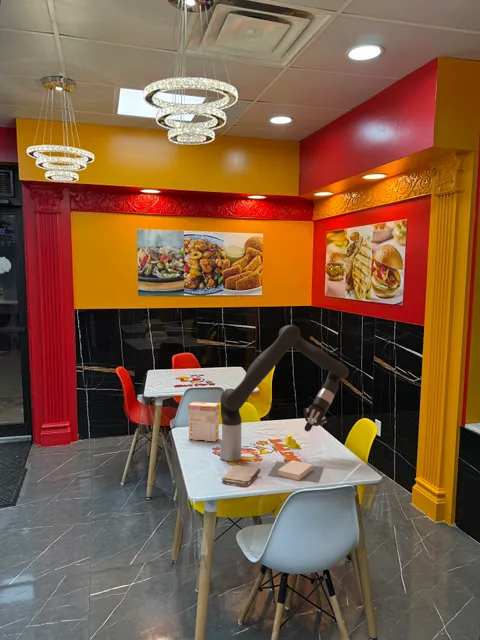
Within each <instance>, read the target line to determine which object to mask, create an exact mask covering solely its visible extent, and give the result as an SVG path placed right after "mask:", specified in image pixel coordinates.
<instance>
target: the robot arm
mask: <svg viewBox="0 0 480 640" xmlns="http://www.w3.org/2000/svg"><path fill="white" fill-rule="evenodd" d="M291 348H292V349H294V350H297V351H298V352H300V353H302V354H303V355H304V356H305V357H307V358H308V359H310V360H311V361H312V362H313V363H315V364H316V365H317V366H319V367H320V368H321V369H323V370H327V371H328V374H327V377H326V379H325V382H324V384H323V386H322V387H321V389H320V390H319V391H318V393H317V395H316V397H315V398H314V401H313V402H312V403H311V405H309V407H307V408H306V407H303V415H304V420H305V422H306V424H305V426H304V431H305V432H307V433H309V432H311V430H312V428H313V427H318V426H321V425H323V424H326V423H327V422H328V421H327V418H326V413H327V411H328V410H329V408H330V406H331V404H332V403H333V400H334V397H335V396H336V394H337V392H338V391H339V387H340V386H339V382H340V381H341V380H342V379H343V380H344V379H346V378H347V377H348V376H349V373H350V371H349V368H348V367H347V365H345V363H343V362H341V361H339V360H338V359H335V358H333V357H332V356H331V355H329V354H328V353H326V352H325V351H324V350H322V349H320V348H319V347H318V346H316V345H313V344H312V343H310V342H308V341H307V340H305V339H304V338H303V337H302V336H301V329H300V328H299V327H298V326H296V325H294V324H287V325H285V326H283V327H281V328H280V329H279V332H278V337H277V338H276V340H275V341H274V342H273V343H272V344H271V345H270V346H269V347H267V348H266V349H265V350H264V351H263V352H261V353H260V354H259V355H258V356H257V357H256V358H255V359H254V360H253V362H251V364H250V365H249V366H248V369H247V370H246V374H245V375H244V377H243V379H242V381H241V382H240V383H239V384H238V385H237V386H236V387H235V388H225V389H224V391H222V393H221V396H220V417H221V438H220V457H219V458H220V460H224V461H226V462H236V461H237V462H238V461H240V460H241V459H242V416H241V413H240V409H241V408H242V407H243V406H244V405H245V403H246V402H247V400H248V399H249V397H250V395H251V394H253V392H254V391H255V389H256V388H257V387H258V386H259V385H260V384H261V382H263V380H264V379H265V378H266V377H267V376H268V375H269V374H270V373H271V371H272V370H273V369H275V367H276V365H277V364H278V363H279V361H280V360H281V359H282V357H283V356H284V355H285V354H286V353H287V352H288V351H289V350H290V349H291ZM308 413H309V418H308ZM318 420H319V421H318Z"/></svg>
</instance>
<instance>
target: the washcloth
mask: <svg viewBox="0 0 480 640" xmlns="http://www.w3.org/2000/svg"><path fill="white" fill-rule="evenodd" d="M260 470H261V469H260V467H255V466H245V465H238V464H236V465H234V466H233V467H232V468H231V469H230V470H229V471H228V472H226V474H225V475H224V476H222V478H221V483H222V482H224V484H226V483H229V484H228V485H230V484H236V485H240V486H239V487H242V486H245V487H247V485H248V483H249V482H251V481H252V482H253V481H254V480H255V479H256V477H257V476H258V475H257V473H258V472H259V471H260ZM252 482H251V483H252ZM236 485H235V486H236ZM248 486H249V485H248Z"/></svg>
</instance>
